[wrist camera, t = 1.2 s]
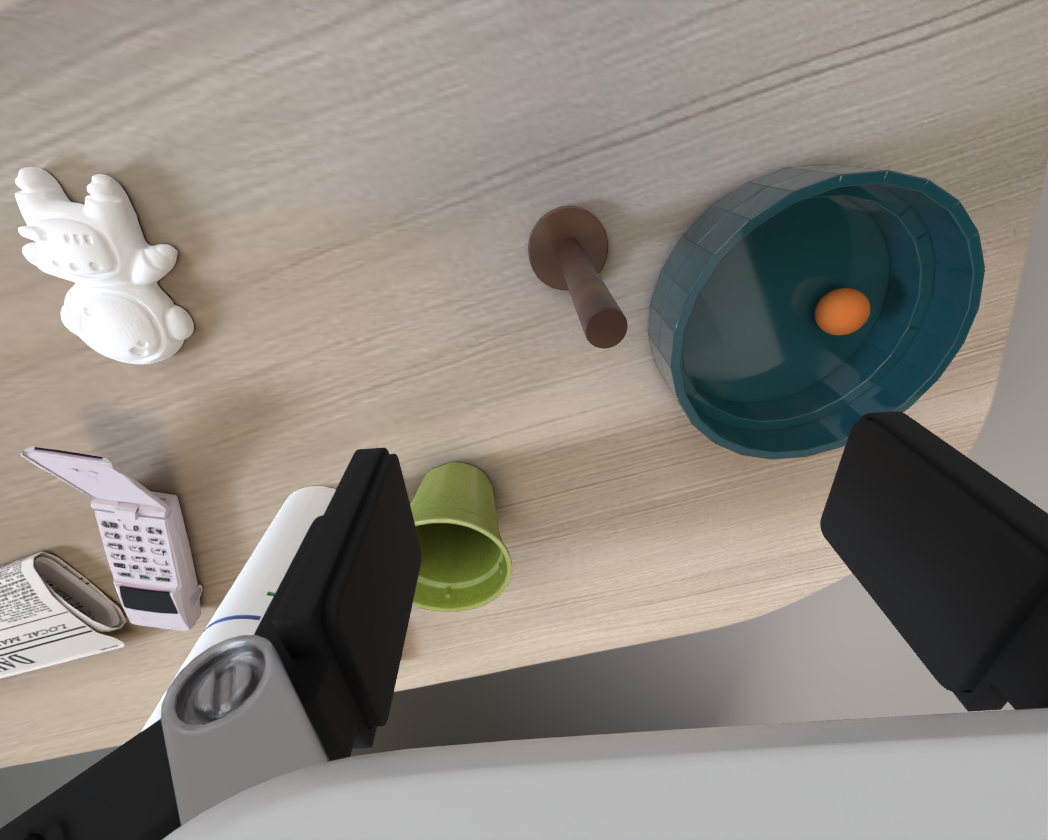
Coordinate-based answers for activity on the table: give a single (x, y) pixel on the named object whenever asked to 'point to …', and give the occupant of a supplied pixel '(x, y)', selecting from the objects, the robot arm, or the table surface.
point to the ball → (842, 311)
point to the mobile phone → (135, 538)
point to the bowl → (813, 305)
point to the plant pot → (458, 540)
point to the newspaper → (51, 615)
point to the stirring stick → (578, 269)
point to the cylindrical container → (261, 573)
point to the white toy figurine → (103, 268)
